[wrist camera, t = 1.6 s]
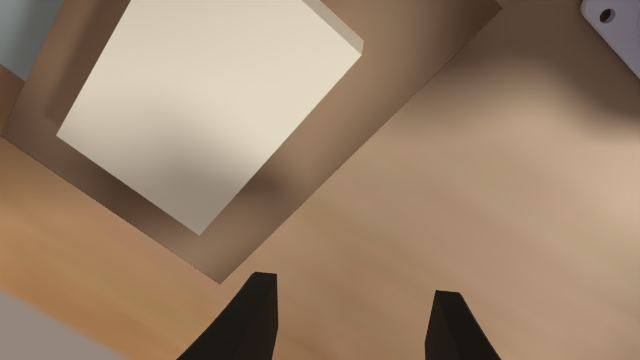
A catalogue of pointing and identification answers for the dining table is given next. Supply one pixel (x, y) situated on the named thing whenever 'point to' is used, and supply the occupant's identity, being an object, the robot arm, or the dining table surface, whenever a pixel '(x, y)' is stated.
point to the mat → (24, 32)
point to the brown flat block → (293, 154)
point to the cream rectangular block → (205, 95)
